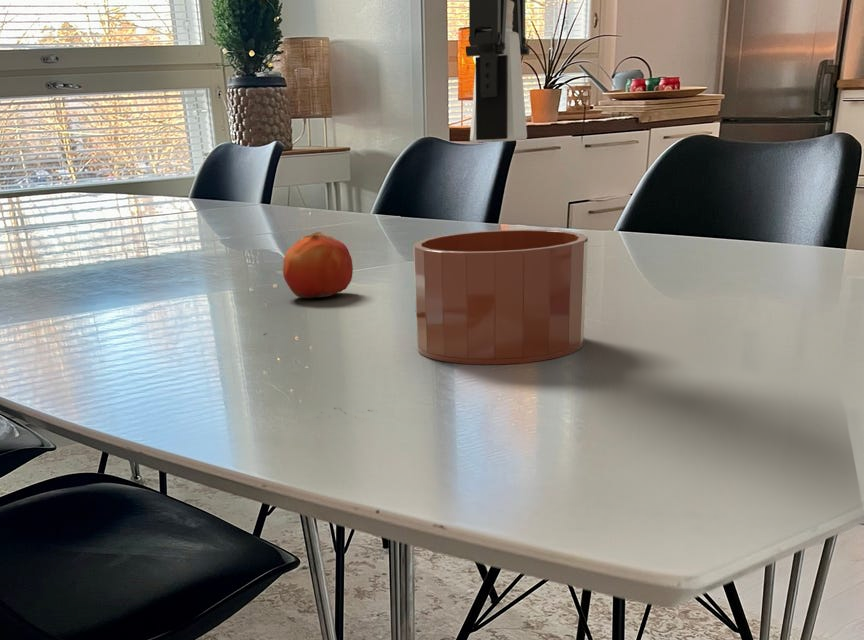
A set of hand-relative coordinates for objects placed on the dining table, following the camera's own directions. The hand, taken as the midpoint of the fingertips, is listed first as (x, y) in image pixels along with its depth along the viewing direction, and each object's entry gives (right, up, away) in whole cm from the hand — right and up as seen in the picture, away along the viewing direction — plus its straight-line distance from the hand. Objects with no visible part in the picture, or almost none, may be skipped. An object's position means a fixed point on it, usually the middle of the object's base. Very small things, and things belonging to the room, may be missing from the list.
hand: (498, 136), depth 94 cm
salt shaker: (0, 0, 0) cm, 1 cm away
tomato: (-19, -1, +41) cm, 45 cm away
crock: (+1, -17, +9) cm, 19 cm away
